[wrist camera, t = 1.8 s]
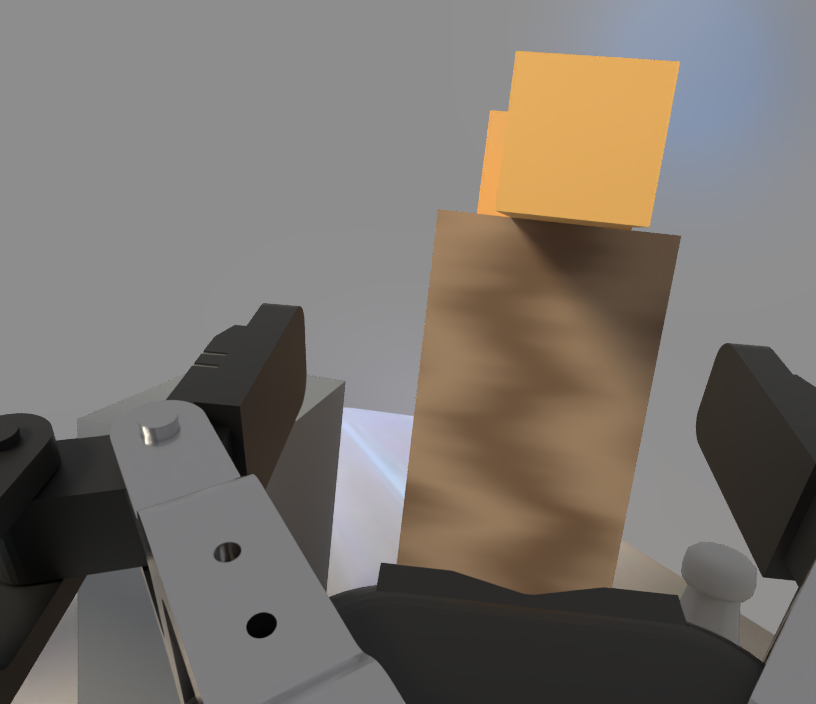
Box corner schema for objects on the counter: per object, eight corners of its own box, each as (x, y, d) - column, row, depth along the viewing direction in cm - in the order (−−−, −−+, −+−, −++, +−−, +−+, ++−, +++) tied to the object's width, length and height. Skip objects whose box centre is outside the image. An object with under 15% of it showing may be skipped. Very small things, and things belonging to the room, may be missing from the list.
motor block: (78, 846, 31) (77, 419, 26) (202, 678, 43) (216, 360, 38) (230, 893, 30) (258, 451, 25) (316, 706, 41) (345, 380, 37)
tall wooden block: (354, 931, 29) (437, 209, 22) (406, 729, 40) (471, 215, 33) (533, 986, 27) (681, 235, 21) (533, 761, 39) (628, 232, 32)
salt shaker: (749, 751, 42) (796, 573, 39) (683, 772, 39) (729, 585, 36) (681, 687, 47) (718, 526, 44) (619, 703, 44) (655, 534, 42)
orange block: (421, 202, 13) (445, -11, 12) (487, 217, 31) (498, 132, 30) (731, 235, 12) (780, 6, 11) (612, 230, 30) (627, 143, 29)
